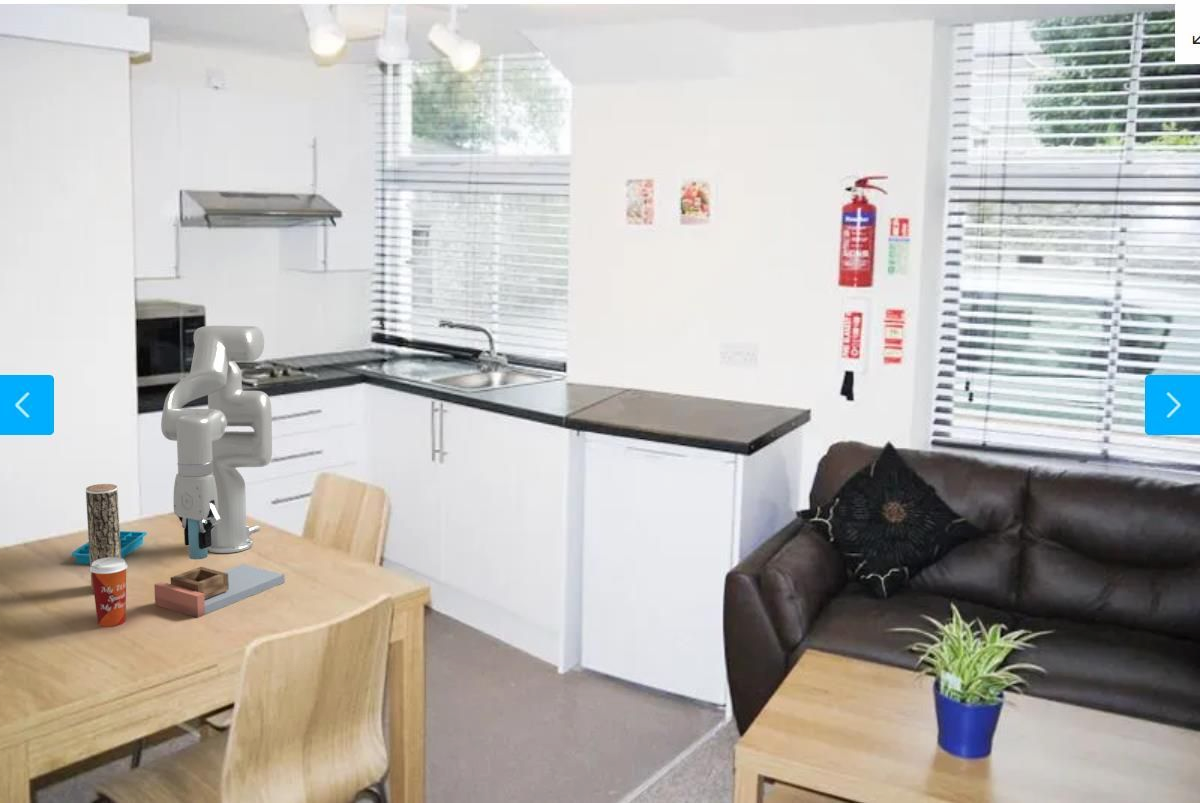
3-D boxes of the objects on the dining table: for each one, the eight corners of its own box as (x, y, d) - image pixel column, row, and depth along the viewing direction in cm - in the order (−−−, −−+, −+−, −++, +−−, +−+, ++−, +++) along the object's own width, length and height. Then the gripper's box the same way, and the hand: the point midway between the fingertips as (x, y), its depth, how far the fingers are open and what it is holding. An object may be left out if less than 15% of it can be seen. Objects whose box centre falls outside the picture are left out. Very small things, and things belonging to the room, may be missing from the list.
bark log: (127, 584, 268) (122, 484, 264) (112, 594, 262) (107, 492, 257) (101, 582, 269) (95, 483, 264) (85, 592, 262) (79, 490, 258)
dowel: (199, 552, 259) (197, 503, 257) (211, 555, 257) (209, 506, 255) (185, 557, 256) (183, 507, 254) (197, 560, 254) (195, 510, 252)
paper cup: (106, 631, 240) (103, 570, 238) (85, 623, 244) (81, 563, 242) (138, 620, 247) (135, 560, 244) (117, 612, 251) (113, 553, 248)
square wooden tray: (201, 582, 265) (201, 566, 264) (228, 589, 260) (228, 573, 260) (171, 593, 257) (170, 577, 256) (198, 601, 253) (197, 585, 252)
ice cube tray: (149, 542, 300) (148, 531, 300) (115, 567, 281) (114, 556, 280) (106, 540, 301) (106, 530, 300) (69, 565, 281) (69, 554, 280)
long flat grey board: (243, 571, 280) (242, 552, 279) (284, 582, 273) (284, 563, 272) (155, 604, 256) (154, 584, 255) (198, 617, 250) (197, 596, 249)
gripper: (156, 467, 254) (160, 543, 257) (208, 477, 246) (211, 556, 249) (183, 461, 260) (185, 535, 263) (234, 471, 252) (236, 547, 256)
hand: (198, 545), depth 256 cm, fingers closed on dowel, 4 cm apart
